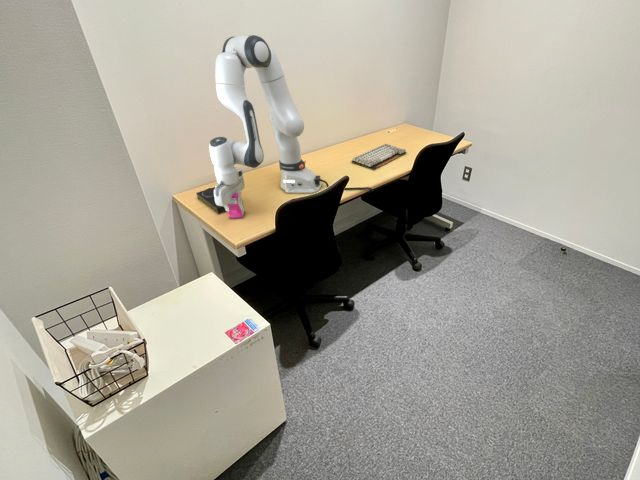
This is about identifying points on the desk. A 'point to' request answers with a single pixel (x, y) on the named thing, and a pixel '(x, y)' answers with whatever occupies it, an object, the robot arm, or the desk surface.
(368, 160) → the mechanical keyboard
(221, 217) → the desk surface
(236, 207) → the supplement box
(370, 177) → the desk surface
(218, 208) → the hot plate
